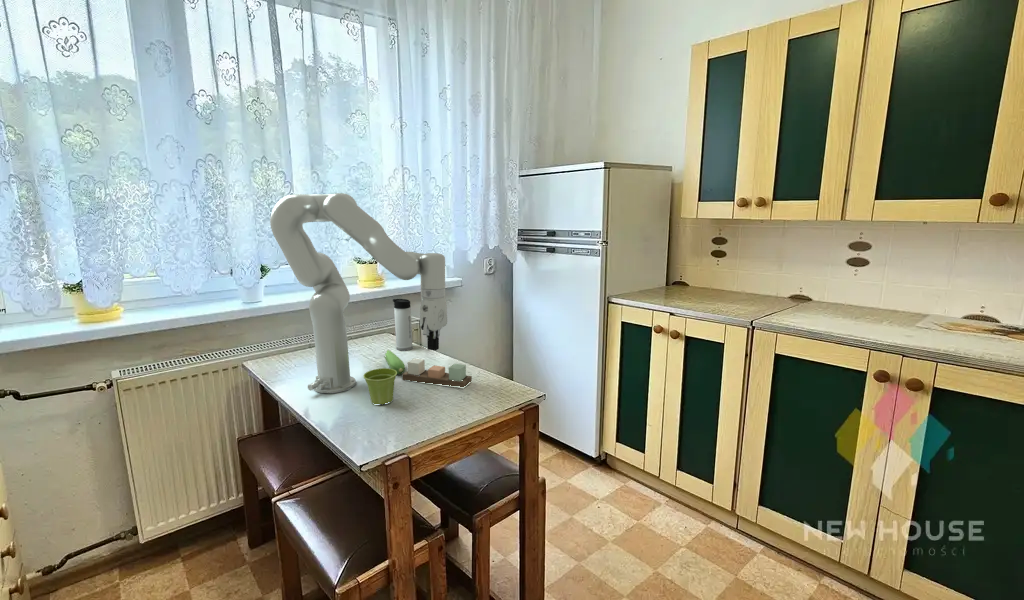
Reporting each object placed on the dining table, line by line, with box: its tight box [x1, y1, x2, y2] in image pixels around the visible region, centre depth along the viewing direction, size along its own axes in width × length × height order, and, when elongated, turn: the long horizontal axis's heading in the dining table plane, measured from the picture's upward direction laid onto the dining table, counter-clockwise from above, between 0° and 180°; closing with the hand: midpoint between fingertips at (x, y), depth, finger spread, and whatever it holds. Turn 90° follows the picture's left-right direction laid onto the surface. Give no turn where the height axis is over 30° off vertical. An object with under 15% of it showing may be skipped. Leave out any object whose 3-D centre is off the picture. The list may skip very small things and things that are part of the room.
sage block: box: [448, 363, 467, 382], centre depth 155 cm, size 4×4×4 cm
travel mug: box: [392, 298, 414, 352], centre depth 190 cm, size 6×7×20 cm
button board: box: [401, 369, 473, 387], centre depth 158 cm, size 6×22×2 cm, turn 70°
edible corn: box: [383, 349, 406, 376], centre depth 171 cm, size 5×20×5 cm
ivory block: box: [407, 358, 426, 376], centre depth 160 cm, size 4×4×4 cm
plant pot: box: [362, 367, 397, 405], centre depth 142 cm, size 9×9×9 cm
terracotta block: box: [427, 365, 446, 379], centre depth 158 cm, size 4×4×4 cm
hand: (433, 349), depth 156 cm, fingers closed
